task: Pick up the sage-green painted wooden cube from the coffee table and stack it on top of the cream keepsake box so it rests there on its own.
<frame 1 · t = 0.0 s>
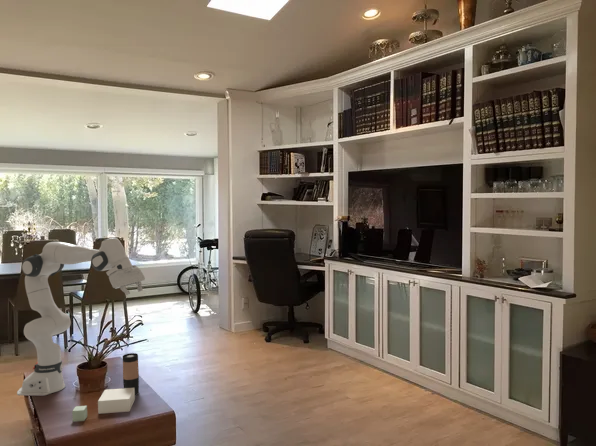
hand: (134, 292, 238), 54 cm above the table, tool tilted 30°, fingers open, 8 cm apart
travel mug: (131, 394, 251), on the table
keepsake box: (117, 406, 236), on the table
sage cube: (80, 419, 223), on the table
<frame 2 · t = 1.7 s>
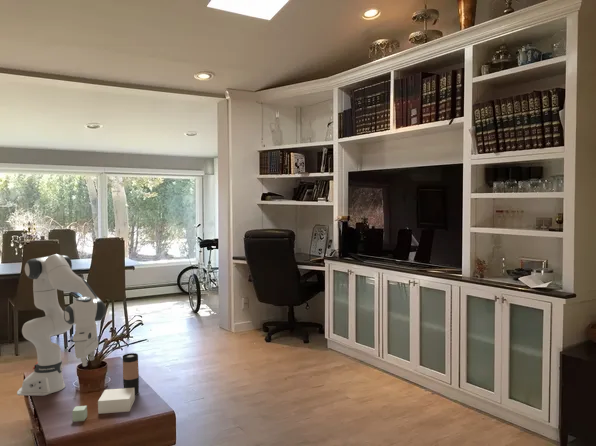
hand: (88, 363, 223), 25 cm above the table, tool pointing down, fingers open, 8 cm apart
nothing on the table moved.
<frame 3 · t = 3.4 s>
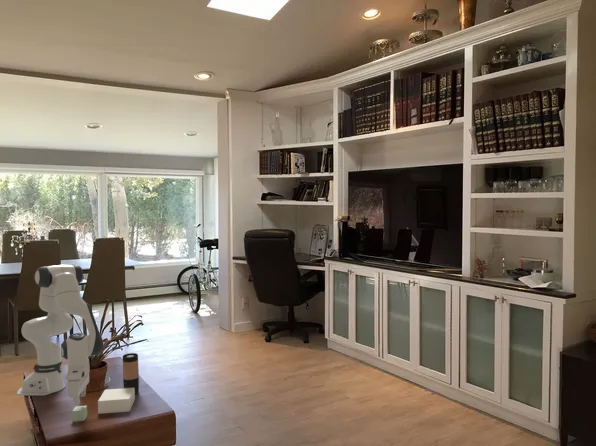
hand: (80, 400, 222), 9 cm above the table, tool pointing down, fingers open, 8 cm apart
nothing on the table moved.
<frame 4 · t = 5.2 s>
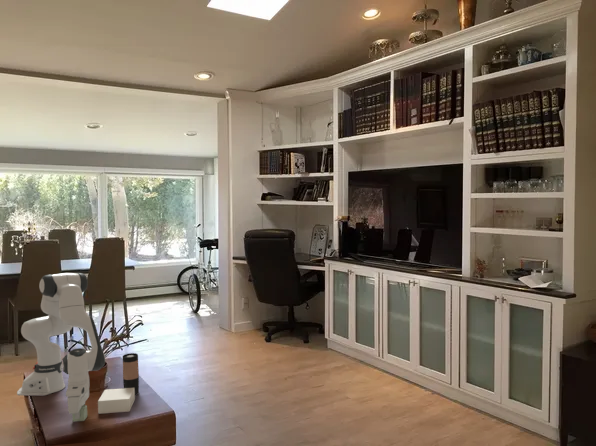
hand: (79, 415, 223), 2 cm above the table, tool pointing down, fingers closed on sage cube, 5 cm apart
sage cube: (80, 418, 223), on the table, touching gripper
everything else where it was.
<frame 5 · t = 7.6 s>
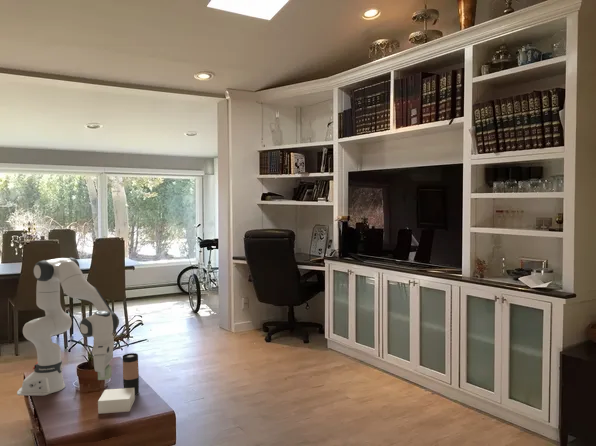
hand: (104, 374, 231), 17 cm above the table, tool pointing down, fingers closed on sage cube, 5 cm apart
sage cube: (104, 377, 231), point 16 cm above the table, touching gripper
everything else where it was.
when the fingers open (9 cm above the table, at t = 10.3 s): sage cube drops 1 cm, resting on keepsake box.
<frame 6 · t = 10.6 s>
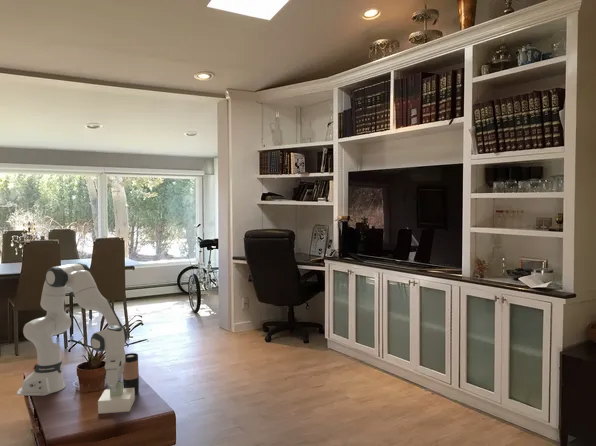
hand: (116, 387, 236), 9 cm above the table, tool pointing down, fingers open, 7 cm apart
sage cube: (116, 394, 236), point 6 cm above the table, touching keepsake box
everything else where it was.
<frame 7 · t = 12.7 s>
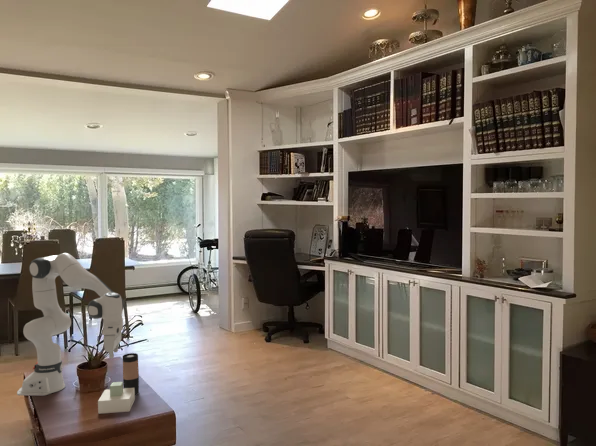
hand: (113, 354, 236), 25 cm above the table, tool pointing down, fingers open, 8 cm apart
nothing on the table moved.
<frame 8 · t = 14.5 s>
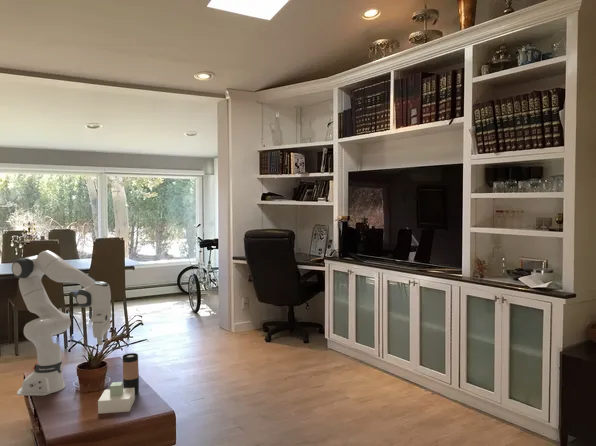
hand: (102, 341, 243), 29 cm above the table, tool pointing down, fingers open, 8 cm apart
nothing on the table moved.
at the end: sage cube inside the target area on the keepsake box (0.0 cm from its centre), point 6.0 cm above the keepsake box's base; sage cube tilted 0°; sage cube touching keepsake box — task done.
